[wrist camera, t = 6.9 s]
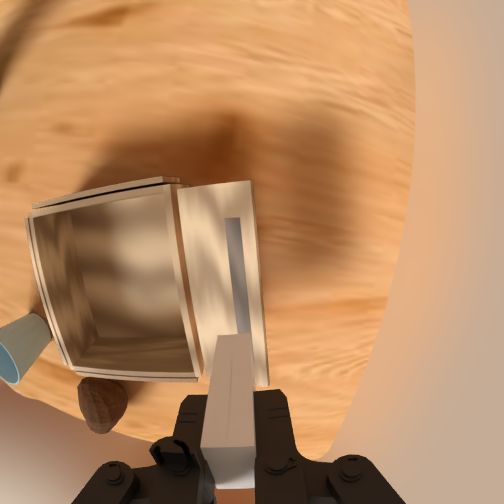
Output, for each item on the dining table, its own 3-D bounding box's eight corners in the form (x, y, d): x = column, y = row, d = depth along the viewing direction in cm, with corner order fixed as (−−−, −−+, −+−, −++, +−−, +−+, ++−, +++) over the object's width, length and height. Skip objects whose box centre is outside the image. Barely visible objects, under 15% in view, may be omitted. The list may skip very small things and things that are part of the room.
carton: (63, 200, 29) (22, 206, 22) (189, 177, 29) (169, 174, 21) (95, 342, 34) (68, 374, 26) (211, 342, 34) (203, 382, 26)
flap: (176, 189, 21) (250, 180, 19) (180, 188, 22) (252, 180, 19) (207, 376, 25) (268, 387, 23) (209, 373, 25) (269, 383, 23)
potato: (96, 403, 36) (78, 434, 29) (86, 357, 34) (61, 387, 27) (137, 415, 37) (122, 450, 29) (130, 369, 35) (110, 404, 27)
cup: (41, 301, 32) (-3, 331, 22) (64, 347, 34) (27, 385, 24) (16, 310, 33) (-24, 337, 23) (37, 351, 34) (2, 384, 24)
